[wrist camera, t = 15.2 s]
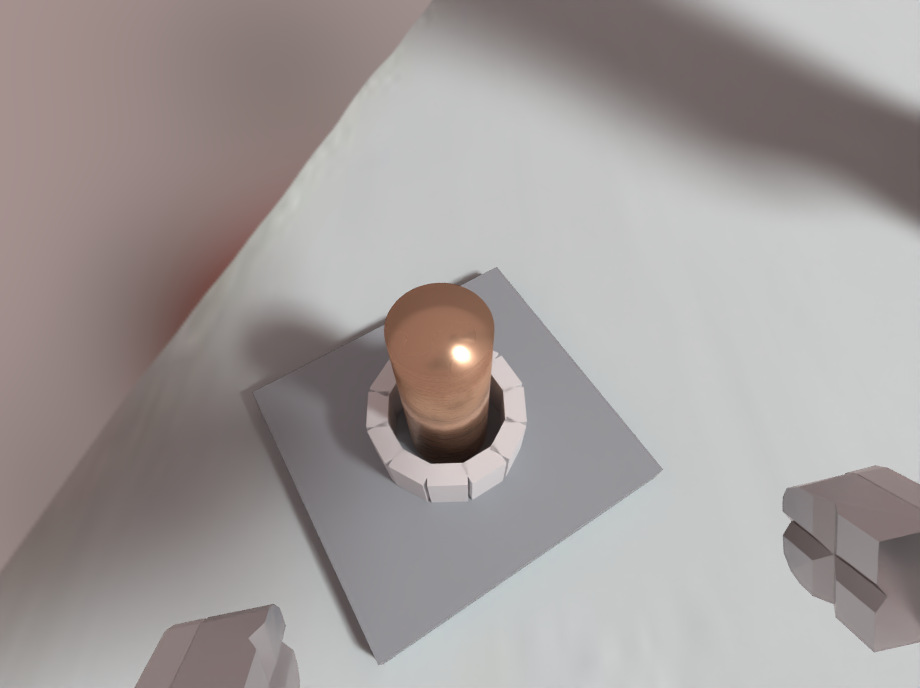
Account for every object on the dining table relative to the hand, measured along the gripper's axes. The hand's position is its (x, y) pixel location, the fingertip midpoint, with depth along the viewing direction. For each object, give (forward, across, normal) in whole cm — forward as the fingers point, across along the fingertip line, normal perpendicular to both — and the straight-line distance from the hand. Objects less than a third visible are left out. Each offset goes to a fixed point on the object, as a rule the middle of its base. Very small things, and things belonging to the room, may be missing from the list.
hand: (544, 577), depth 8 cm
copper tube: (+19, +1, +6) cm, 20 cm away
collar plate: (+20, +1, +7) cm, 21 cm away
